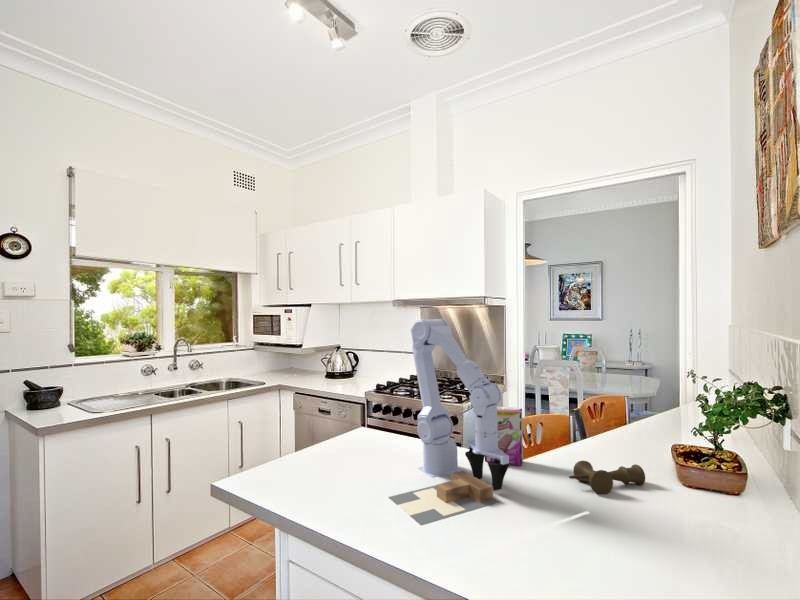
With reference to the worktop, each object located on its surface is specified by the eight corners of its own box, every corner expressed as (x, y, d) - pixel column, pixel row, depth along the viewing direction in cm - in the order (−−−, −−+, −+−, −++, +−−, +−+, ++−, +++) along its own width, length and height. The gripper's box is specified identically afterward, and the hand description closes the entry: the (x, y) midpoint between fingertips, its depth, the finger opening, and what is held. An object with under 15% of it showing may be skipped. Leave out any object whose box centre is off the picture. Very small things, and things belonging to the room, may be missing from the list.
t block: (463, 482, 113) (463, 470, 113) (493, 499, 102) (492, 486, 102) (428, 490, 108) (428, 479, 108) (455, 509, 97) (455, 496, 97)
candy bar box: (484, 463, 128) (483, 408, 128) (486, 457, 133) (485, 405, 133) (522, 466, 124) (521, 411, 125) (523, 461, 129) (522, 407, 130)
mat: (460, 481, 115) (460, 479, 115) (500, 504, 101) (500, 501, 101) (388, 499, 104) (388, 497, 104) (421, 527, 90) (421, 525, 90)
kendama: (653, 493, 106) (579, 496, 104) (628, 479, 116) (559, 482, 113) (653, 469, 107) (578, 471, 104) (628, 457, 116) (559, 459, 114)
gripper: (457, 426, 114) (458, 477, 114) (492, 440, 101) (494, 498, 101) (477, 423, 117) (479, 472, 117) (514, 436, 104) (516, 491, 104)
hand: (487, 484), depth 109 cm, fingers open, 7 cm apart
